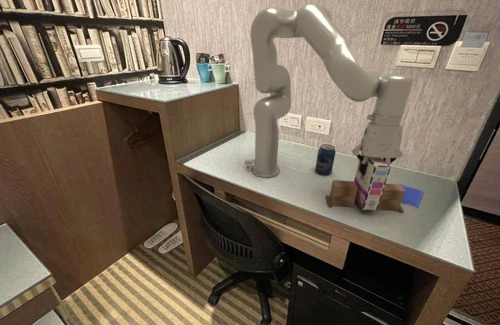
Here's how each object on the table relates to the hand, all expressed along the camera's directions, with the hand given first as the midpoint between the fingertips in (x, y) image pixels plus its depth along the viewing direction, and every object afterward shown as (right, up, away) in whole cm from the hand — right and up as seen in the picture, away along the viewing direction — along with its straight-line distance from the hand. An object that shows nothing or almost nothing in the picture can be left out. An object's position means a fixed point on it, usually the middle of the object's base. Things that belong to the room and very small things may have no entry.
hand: (371, 173), depth 77 cm
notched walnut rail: (0, -11, +6) cm, 13 cm away
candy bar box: (0, -10, +5) cm, 11 cm away
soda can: (-8, -1, +26) cm, 27 cm away
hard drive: (+19, -10, +11) cm, 24 cm away
